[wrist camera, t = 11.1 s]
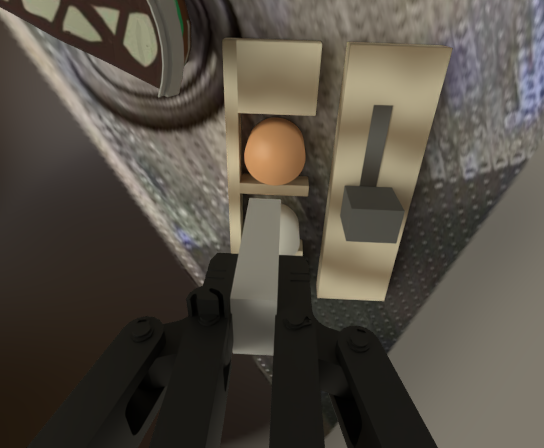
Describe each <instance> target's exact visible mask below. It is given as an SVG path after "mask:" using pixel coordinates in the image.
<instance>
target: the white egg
mask: <svg viewBox="0 0 544 448" xmlns="http://www.w3.org/2000/svg"><path fill="white" fill-rule="evenodd" d="M299 245H300V237H299V221H298V217H297V215H296V214H295V212H294V211H293V210H292V209H291V208H290V207H288V206H286V205H284V204H282V203H281V213H280V240H279V255H295V254H296V253H297V251H298V249H299Z"/></svg>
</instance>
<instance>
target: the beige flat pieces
mask: <svg viewBox="0 0 544 448" xmlns="http://www.w3.org/2000/svg"><path fill="white" fill-rule="evenodd" d="M222 49H223V73H224V97H225V121H226V145H227V169H228V193H229V217H230V241H231V253H233V254H239V249H240V244H241V239H242V234H243V194H264V195H287V196H308V191H309V182H308V176H297V177H296V178H295V179H294V180H292V181H291V182H289V183H286V184H283V185H278V186H273V185H267V184H264V183H262V182H260V181H258V180H256V179H255V178H254V177H253V176H252V175H251V174H242V137H241V113H253V114H278V115H303V116H316V105H317V95H318V84H319V73H320V63H321V52H322V43H321V41H310V40H282V39H254V38H225V39H223V40H222ZM452 49H453V48H450V47H447V46H443V45H422V44H394V43H366V42H347V46H346V54H345V62H344V70H343V78H342V86H341V94H340V102H339V110H338V117H337V125H336V133H335V141H334V149H333V157H332V165H331V173H330V180H329V188H328V196H327V204H326V212H325V220H324V228H323V236H322V244H321V251H320V259H319V267H318V275H317V283H316V288H317V298H331V299H351V300H372V301H384V299H385V295H386V292H387V288H388V284H389V281H390V277H391V273H392V270H393V266H394V262H395V259H396V255H397V251H398V248H399V244H400V240H401V237H402V233H403V229H404V226H405V222H406V218H407V214H408V211H409V207H410V203H411V200H412V196H413V192H414V189H415V185H416V181H417V178H418V174H419V170H420V167H421V163H422V159H423V156H424V152H425V148H426V145H427V141H428V137H429V133H430V130H431V126H432V122H433V119H434V115H435V111H436V108H437V104H438V100H439V97H440V93H441V89H442V86H443V82H444V78H445V75H446V71H447V67H448V64H449V60H450V56H451V53H452ZM345 185H346V186H369V187H392V189H393V190H394V192H395V194H396V196H397V198H398V200H399V201H400V203H401V205H402V207H403V209H404V210H405V213H404V217H403V220H402V224H401V228H400V232H399V235H398V239H397V243H396V244H394V243H372V242H351V241H346V239H345V234H344V230H343V226H342V222H341V218H340V212H341V206H342V199H343V193H344V186H345ZM302 255H303V245H302V240H300V245H299V249H298V251H297V253H296V254H295V255H294V256H302Z"/></svg>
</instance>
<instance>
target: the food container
mask: <svg viewBox="0 0 544 448" xmlns="http://www.w3.org/2000/svg"><path fill="white" fill-rule="evenodd" d="M0 7H1V8H3V9H5V10H7V11H8V12H10V13H12V14H14V15H16V16H18V17H20V18H21V19H23V20H25V21H27V22H29V23H31V24H32V25H34V26H36V27H37V28H39V29H41V30H43V31H44V32H46V33H48V34H50V35H52V36H53V37H55V38H57V39H59V40H61V41H63V42H65V43H67V44H69V45H71V46H74V47H76V48H78V49H80V50H82V51H85V52H87V53H89V54H91V55H93V56H95V57H97V58H99V59H101V60H103V61H105V62H108V63H110V64H112V65H114V66H116V67H118V68H120V69H122V70H124V71H125V72H127V73H129V74H131V75H133V76H135V77H137V78H139V79H141V80H143V81H145V82H147V83H149V84H151V85H153V86H155V87H157V88H159V89H160V90H159V94H158V97H161V96H163V95H164V96H166V97H169V96H173V95H177V94H179V90H180V86H181V82H182V78H183V68H184V66H185V64H186V63H187V61H188V57H189V54H190V50H191V22H190V18H189V14H188V11H187V7H186V4H185V0H0Z"/></svg>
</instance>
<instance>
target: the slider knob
mask: <svg viewBox="0 0 544 448" xmlns="http://www.w3.org/2000/svg"><path fill="white" fill-rule="evenodd" d="M404 213H405V210H404V209H403V207H402V205H401V203H400V201H399V200H398V198H397V196H396V194H395V192H394V190H393V189H392V187H369V186H346V185H345V186H344V193H343V199H342V206H341V212H340V218H341V222H342V226H343V230H344V234H345V239H346V241H351V242H372V243H394V244H396V243H397V239H398V235H399V232H400V228H401V224H402V220H403V217H404Z"/></svg>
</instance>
